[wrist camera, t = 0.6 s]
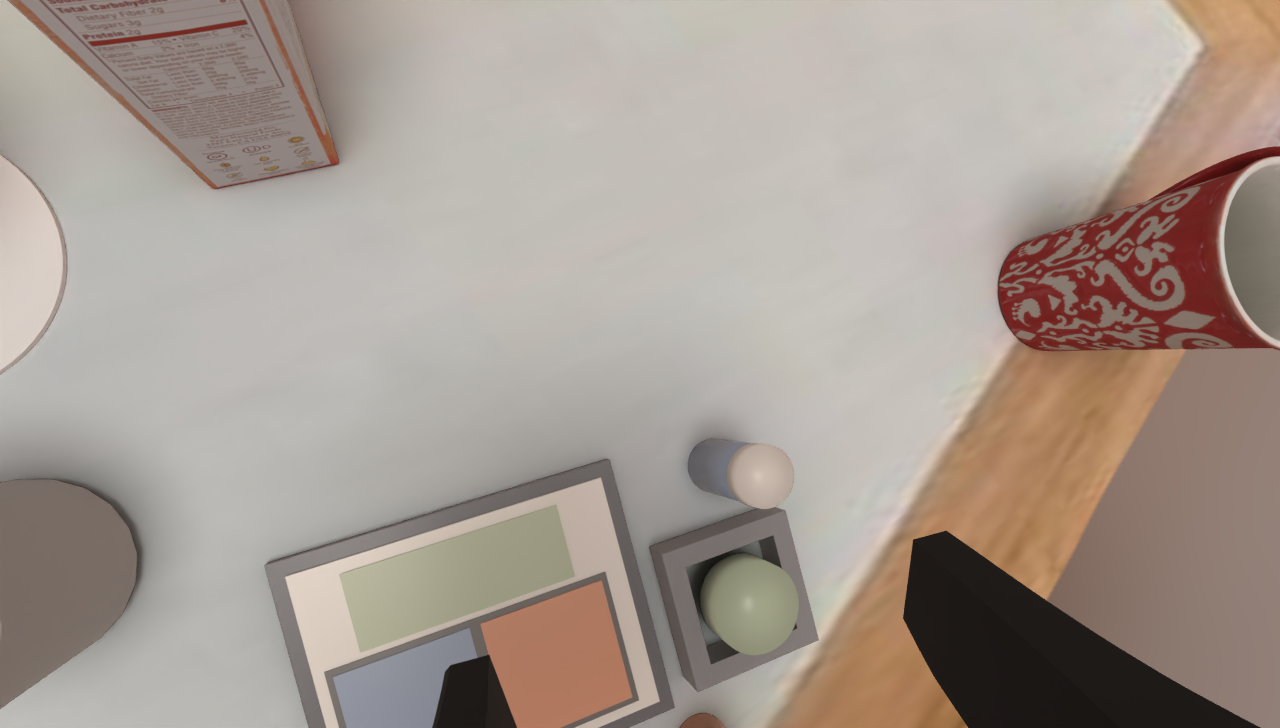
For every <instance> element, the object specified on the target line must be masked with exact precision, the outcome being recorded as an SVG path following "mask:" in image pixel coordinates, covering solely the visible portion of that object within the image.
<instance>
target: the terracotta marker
mask: <svg viewBox="0 0 1280 728" xmlns="http://www.w3.org/2000/svg"><path fill="white" fill-rule="evenodd" d="M680 728H726V727H725V726H724V725H723V724H722V723H721V722H720V721H719V720H718V719H717V718H716V717H715V716H713V715H711V714H707V713H700V714H696V715H693V716H691V717H690V718H688V719H687V720H686V721H685V722H684V723H683V724H682V725H681V727H680Z"/></svg>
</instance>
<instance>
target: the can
mask: <svg viewBox="0 0 1280 728" xmlns="http://www.w3.org/2000/svg"><path fill="white" fill-rule="evenodd" d="M136 567H137V552H136V549H135V546H134V543H133V539H132V536H131V533H130V530H129V527H128V526H127V525H126V524H125V522H124V521H123V520H122V518H121V517H120V516H119V515H118V513H117V512H116V511H115V509H114V508H113V507H112V506H111V505H110V504H109V503H107V502H106V501H104V500H102V499H101V498H99V497H98V496H96V495H95V494H93V493H91V492H90V491H88V490H87V489H85V488H82V487H79V486H75V485H71V484H68V483H64V482H60V481H57V480H53V479H26V480H12V481H6V482H1V483H0V709H1V708H2V707H4V706H5V705H6V704H8V703H9V702H11V701H12V700H14V699H15V698H16V697H18V696H19V695H21V694H22V693H23V692H25V691H26V690H28V689H29V688H31V687H32V686H33V685H35V684H36V683H38V682H39V681H40V680H42V679H43V678H45V677H46V676H48V675H49V674H50V673H52V672H53V671H55V670H56V669H57V668H59V667H60V666H62V665H63V664H65V663H66V662H67V661H69V660H70V659H72V658H73V657H74V656H76V655H77V654H79V653H80V652H81V651H83V650H84V649H86V648H87V647H89V646H90V645H91V644H93V643H94V642H96V641H97V640H98V639H100V638H101V637H102V636H103V635H104V634H105V633H106V632H107V630H108V629H109V628H110V627H111V626H112V625H113V623H114V622H115V621H116V620H117V619H118V618H119V616H120V615H121V614H122V613H123V611H124V609H125V607H126V604H127V602H128V600H129V598H130V595H131V593H132V591H133V588H134V586H135V581H136Z"/></svg>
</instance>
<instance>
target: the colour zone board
mask: <svg viewBox="0 0 1280 728" xmlns="http://www.w3.org/2000/svg"><path fill="white" fill-rule="evenodd" d="M265 570H266V574H267V577H268V581H269V585H270V588H271V592H272V595H273V599H274V603H275V606H276V610H277V614H278V617H279V621H280V625H281V628H282V632H283V636H284V639H285V643H286V647H287V650H288V654H289V658H290V661H291V665H292V668H293V672H294V676H295V679H296V683H297V687H298V690H299V694H300V698H301V701H302V705H303V709H304V712H305V716H306V720H307V723H308V727H309V728H432V726H433V723H434V719H435V715H436V711H437V706H438V702H439V698H440V694H441V689H442V684H443V679H444V674H445V671H446V670H447V669H448V667H449V666H450V665H453V664H456V663H460V662H464V661H468V660H471V659H475V658H479V657H482V656H486V655H490V658H491V660H492V663H493V666H494V668H495V671H496V673H497V676H498V679H499V681H500V684H501V687H502V689H503V692H504V694H505V697H506V700H507V702H508V705H509V708H510V710H511V713H512V716H513V718H514V721H515V723H516V726H517V728H629V727H631V726H633V725H636V724H638V723H640V722H643V721H645V720H647V719H650V718H652V717H654V716H657V715H659V714H661V713H664V712H666V711H668V710H670V709H673V708H675V707H674V703H673V699H672V695H671V691H670V688H669V684H668V680H667V676H666V672H665V669H664V665H663V661H662V657H661V653H660V650H659V646H658V642H657V638H656V634H655V630H654V627H653V623H652V619H651V615H650V611H649V608H648V604H647V600H646V596H645V592H644V589H643V585H642V581H641V577H640V573H639V570H638V566H637V562H636V558H635V554H634V551H633V547H632V543H631V539H630V535H629V532H628V528H627V524H626V520H625V516H624V513H623V509H622V505H621V501H620V497H619V493H618V490H617V486H616V482H615V478H614V474H613V471H612V467H611V463H610V460H609V459H604V460H601V461H598V462H595V463H591V464H588V465H585V466H581V467H578V468H575V469H572V470H568V471H565V472H562V473H559V474H555V475H552V476H549V477H546V478H542V479H539V480H536V481H533V482H529V483H526V484H523V485H519V486H516V487H513V488H510V489H506V490H503V491H500V492H497V493H493V494H490V495H487V496H484V497H480V498H477V499H474V500H471V501H467V502H464V503H461V504H458V505H454V506H451V507H448V508H444V509H441V510H438V511H435V512H431V513H428V514H425V515H422V516H418V517H415V518H412V519H409V520H405V521H402V522H399V523H396V524H392V525H389V526H386V527H383V528H379V529H376V530H373V531H369V532H366V533H363V534H360V535H356V536H353V537H350V538H347V539H343V540H340V541H337V542H334V543H330V544H327V545H324V546H321V547H317V548H314V549H311V550H307V551H304V552H301V553H298V554H294V555H291V556H288V557H285V558H281V559H278V560H275V561H272V562H268V563H267V564H266V565H265Z"/></svg>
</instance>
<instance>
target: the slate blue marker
mask: <svg viewBox="0 0 1280 728" xmlns="http://www.w3.org/2000/svg"><path fill="white" fill-rule="evenodd" d="M688 471H689V475H690V477H691V479H692V481H693V482H694V484H695V485H696V486H697V487H699V488H700V489H702V490H705V491H708V492H711V493H714V494H718V495H721V496H724V497H727V498H730V499H733V500H737V501H740V502H741V503H743V504H746V505H749V506H752V507H755V508H759V509H770V508H774V507H776V506H778V505H779V504H781V503H782V502H783V501H784V500H785V499H786V498H787V497H788V495H789V494H790V492H791V489H792V486H793V482H794V470H793V466H792V463H791V461H790V459H789V457H788V456H787V455H786V453H785V452H784V451H783V450H781V449H780V448H778V447H776V446H773V445H769V444H761V443H744V442H735V441H727V440H719V439H708V440H705V441H702V442H701V443H699V444H698V445H697V446H696V447H695V448H694V449H693V450H692V452H691V454H690V457H689V461H688Z"/></svg>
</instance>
